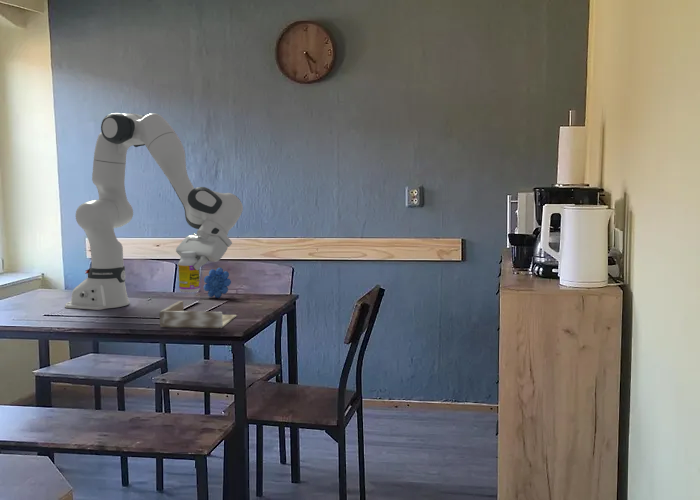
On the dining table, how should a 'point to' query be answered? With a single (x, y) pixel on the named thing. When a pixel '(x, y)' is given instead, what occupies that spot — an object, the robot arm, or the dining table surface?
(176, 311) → the tray
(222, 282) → the blue flower shape
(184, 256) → the supplement bottle
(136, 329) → the dining table surface
